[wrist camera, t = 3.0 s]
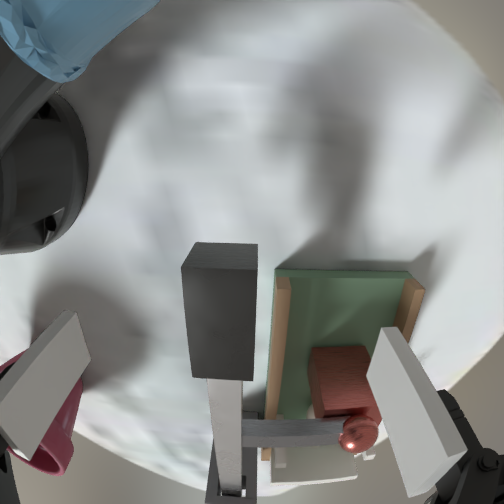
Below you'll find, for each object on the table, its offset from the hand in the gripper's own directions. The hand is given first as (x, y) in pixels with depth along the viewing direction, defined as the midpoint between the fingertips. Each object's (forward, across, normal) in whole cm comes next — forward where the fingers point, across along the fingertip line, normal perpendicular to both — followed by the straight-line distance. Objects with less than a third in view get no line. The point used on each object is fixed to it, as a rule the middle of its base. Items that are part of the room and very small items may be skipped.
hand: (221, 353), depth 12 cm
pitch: (+13, +6, -14) cm, 20 cm away
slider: (+11, +5, -10) cm, 16 cm away
